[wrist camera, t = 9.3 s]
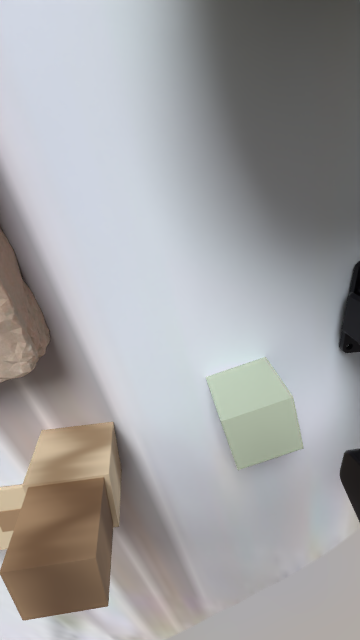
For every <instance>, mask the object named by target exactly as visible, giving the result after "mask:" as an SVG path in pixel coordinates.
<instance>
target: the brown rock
mask: <svg viewBox="0 0 360 640" xmlns="http://www.w3.org/2000/svg"><path fill="white" fill-rule="evenodd" d="M49 341H50V336H49V329H48V328H47V326H46V323H45V320H44V316H43V313H42V311H41V309H40V307H39V305H38V303H37V301H36V299H35V297H34V295H33V294H32V292H31V290H30V289H29V287H28V286H27V285H26V284H25V282H24V281H23V280H22V275H21V272H20V269H19V266H18V262H17V259H16V256H15V253H14V250H13V248H12V247H11V245H10V244H9V242H8V240H7V238H6V237H5V235H4V233H3V232H2V230H1V227H0V383H1V382H4V381H6V380H9V379H14V378H20V377H23V376H25V375H27V374H28V373H30V372H31V371H32V370H33V369H34V368H35V367H36V363H37V362H38V359H39V358H40V357H41V356H43V355H45V352H46V347H47V345H48V344H49Z"/></svg>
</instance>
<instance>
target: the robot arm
mask: <svg viewBox="0 0 360 640" xmlns="http://www.w3.org/2000/svg"><path fill="white" fill-rule="evenodd" d="M348 344H349V346H347V345H348ZM346 346H347V347H346ZM339 347H340V349H341V350H343V351H344V352H345V353H352V352H360V261H359V262H358V263H357V264H356V265H355V268H354V273H353V278H352V283H351V288H350V293H349V296H348V300H347V305H346V310H345V315H344V321H343V326H342V334H341V339H340V344H339ZM340 479H341V482H342V484H343V486H344V489H345V491H346V493H347V495H348V497H349V500H350V502H351V504H352V506H353V508H354V511H355V513H356V515H357V517H358V520H359V522H360V449H353V450H347V451H346V452H345V453H344V456H343V460H342V464H341V468H340Z"/></svg>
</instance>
